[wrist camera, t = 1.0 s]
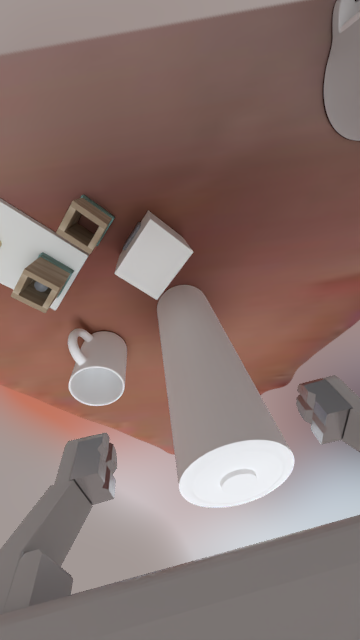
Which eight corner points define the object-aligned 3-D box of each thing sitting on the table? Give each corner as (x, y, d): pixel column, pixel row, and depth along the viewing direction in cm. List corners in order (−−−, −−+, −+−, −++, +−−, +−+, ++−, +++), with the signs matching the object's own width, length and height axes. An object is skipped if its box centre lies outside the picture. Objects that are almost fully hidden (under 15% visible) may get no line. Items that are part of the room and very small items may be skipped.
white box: (146, 208, 36) (147, 216, 28) (182, 237, 39) (193, 251, 31) (117, 253, 38) (111, 272, 31) (153, 277, 41) (156, 300, 33)
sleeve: (84, 194, 34) (71, 197, 28) (115, 216, 36) (110, 224, 30) (68, 224, 35) (53, 233, 29) (98, 244, 37) (90, 256, 31)
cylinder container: (149, 322, 45) (160, 511, 20) (169, 277, 41) (216, 437, 16) (194, 336, 48) (255, 517, 22) (216, 295, 44) (322, 455, 19)
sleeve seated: (43, 251, 36) (23, 266, 30) (74, 270, 38) (62, 287, 32) (29, 277, 37) (8, 296, 31) (60, 294, 39) (46, 315, 33)
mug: (58, 327, 43) (37, 365, 34) (98, 306, 42) (87, 339, 33) (99, 371, 49) (90, 413, 40) (135, 353, 48) (134, 392, 39)
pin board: (-10, 191, 32) (-40, 194, 27) (89, 253, 38) (81, 266, 33) (-37, 259, 36) (-68, 273, 30) (57, 307, 41) (45, 326, 36)
